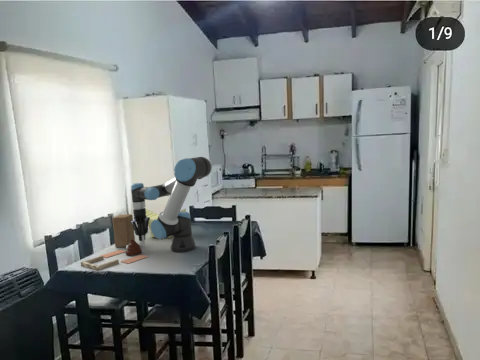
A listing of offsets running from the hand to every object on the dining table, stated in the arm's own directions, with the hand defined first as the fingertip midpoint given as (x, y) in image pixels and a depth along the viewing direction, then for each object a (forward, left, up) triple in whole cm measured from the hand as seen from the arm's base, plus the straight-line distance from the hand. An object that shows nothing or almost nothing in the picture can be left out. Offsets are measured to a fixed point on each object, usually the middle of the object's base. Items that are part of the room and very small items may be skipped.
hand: (142, 245), depth 258 cm
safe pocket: (0, +30, -3) cm, 30 cm away
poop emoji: (-1, +7, -3) cm, 8 cm away
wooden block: (+21, -1, -3) cm, 21 cm away
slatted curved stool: (+17, -30, -3) cm, 35 cm away
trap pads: (0, +15, -3) cm, 15 cm away
